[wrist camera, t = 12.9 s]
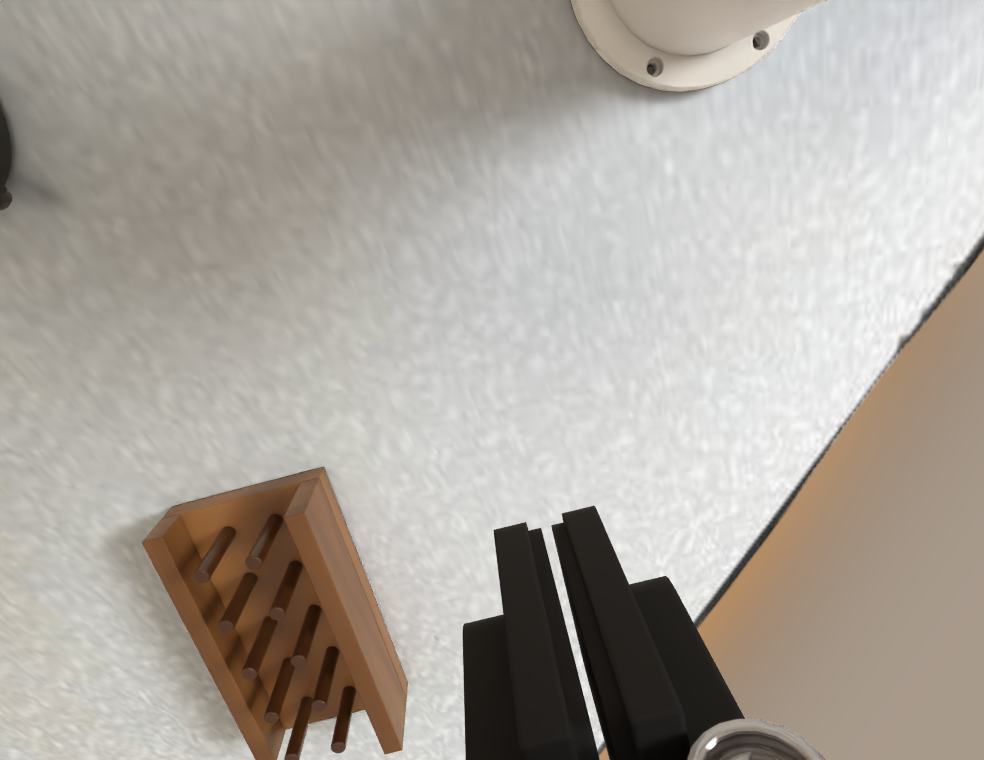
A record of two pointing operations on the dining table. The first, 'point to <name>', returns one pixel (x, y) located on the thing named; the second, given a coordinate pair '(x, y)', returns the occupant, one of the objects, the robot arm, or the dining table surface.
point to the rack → (282, 612)
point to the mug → (4, 162)
